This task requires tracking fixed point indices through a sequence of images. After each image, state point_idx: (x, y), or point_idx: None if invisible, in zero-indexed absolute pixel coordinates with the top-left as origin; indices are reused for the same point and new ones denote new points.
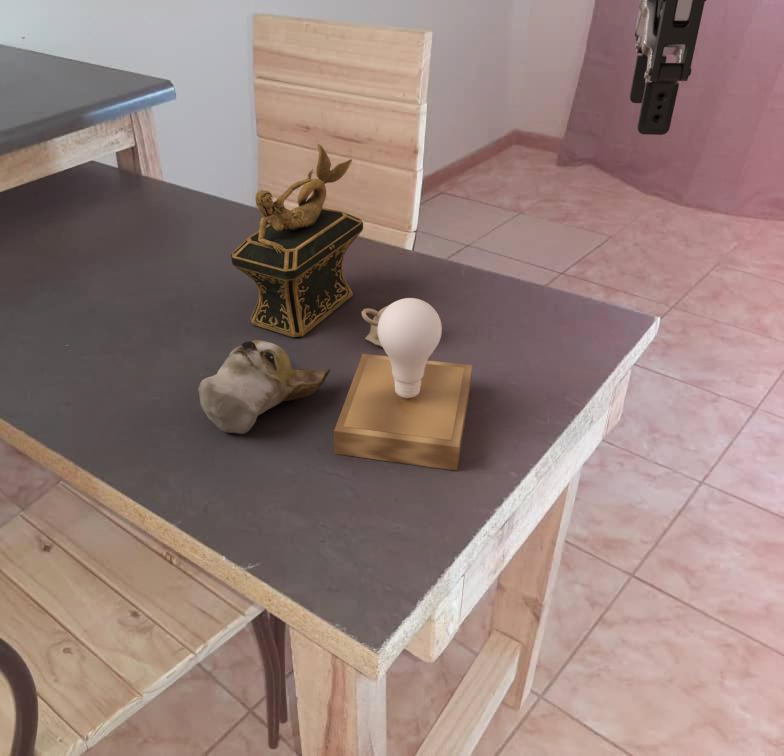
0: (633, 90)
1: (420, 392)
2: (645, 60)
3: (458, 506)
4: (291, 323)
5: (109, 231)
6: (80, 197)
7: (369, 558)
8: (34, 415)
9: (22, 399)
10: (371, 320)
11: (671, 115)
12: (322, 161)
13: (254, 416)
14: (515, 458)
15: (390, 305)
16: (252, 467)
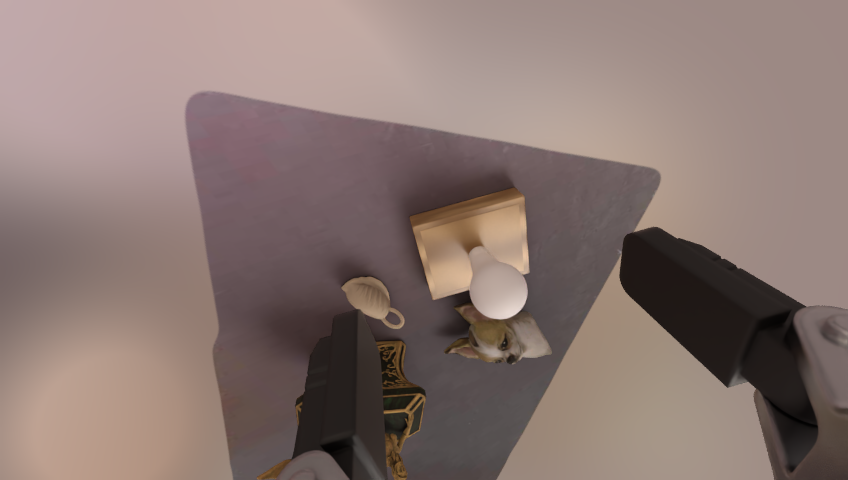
0: (379, 377)
1: (467, 245)
2: (378, 460)
3: (549, 172)
4: (403, 354)
5: None
6: None
7: (604, 202)
8: (533, 394)
9: (523, 405)
10: (401, 316)
11: (688, 249)
12: None
13: (531, 316)
14: (486, 153)
15: (505, 318)
16: (545, 291)
